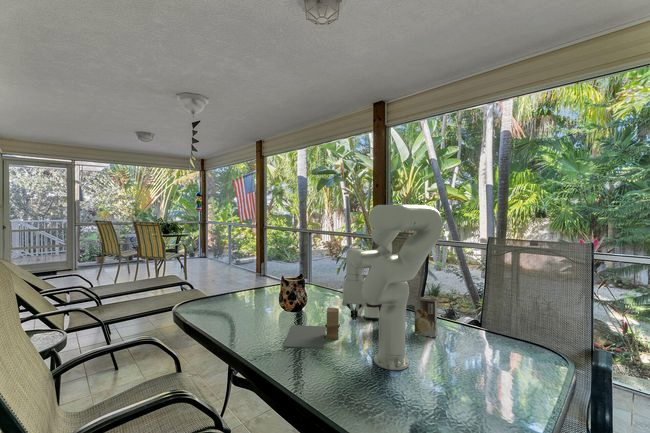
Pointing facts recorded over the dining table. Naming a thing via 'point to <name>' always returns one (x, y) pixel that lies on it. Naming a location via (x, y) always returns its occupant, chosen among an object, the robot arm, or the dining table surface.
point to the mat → (305, 337)
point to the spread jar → (370, 312)
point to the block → (332, 323)
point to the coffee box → (426, 316)
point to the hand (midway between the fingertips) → (354, 319)
